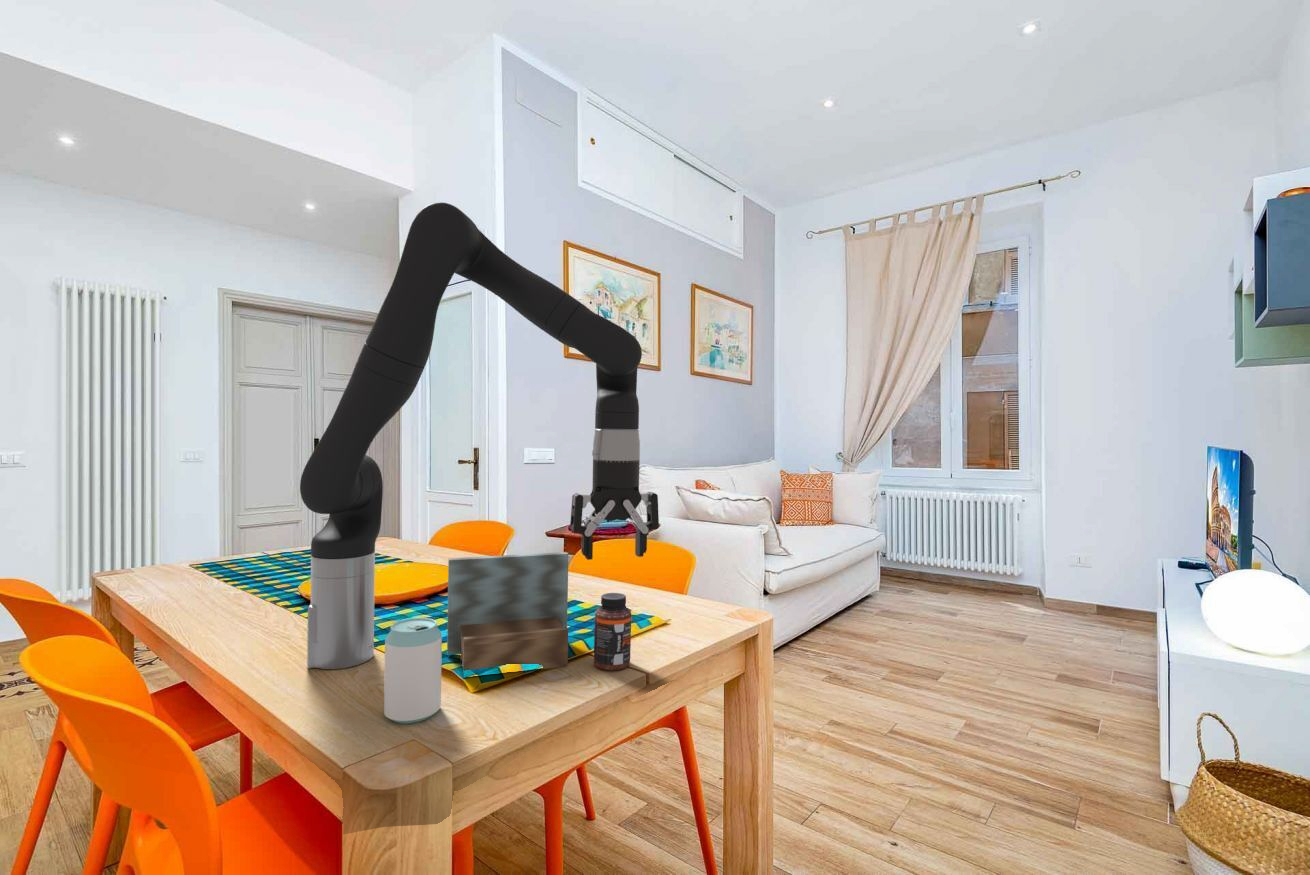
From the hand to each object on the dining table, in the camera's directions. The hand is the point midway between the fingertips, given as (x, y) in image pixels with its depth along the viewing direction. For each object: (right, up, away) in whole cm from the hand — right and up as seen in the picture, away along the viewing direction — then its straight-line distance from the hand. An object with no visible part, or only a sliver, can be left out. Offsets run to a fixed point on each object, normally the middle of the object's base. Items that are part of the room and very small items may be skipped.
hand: (614, 557), depth 100 cm
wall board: (-17, -17, +2) cm, 24 cm away
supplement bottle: (0, -18, 0) cm, 18 cm away
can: (-26, -18, -18) cm, 36 cm away
